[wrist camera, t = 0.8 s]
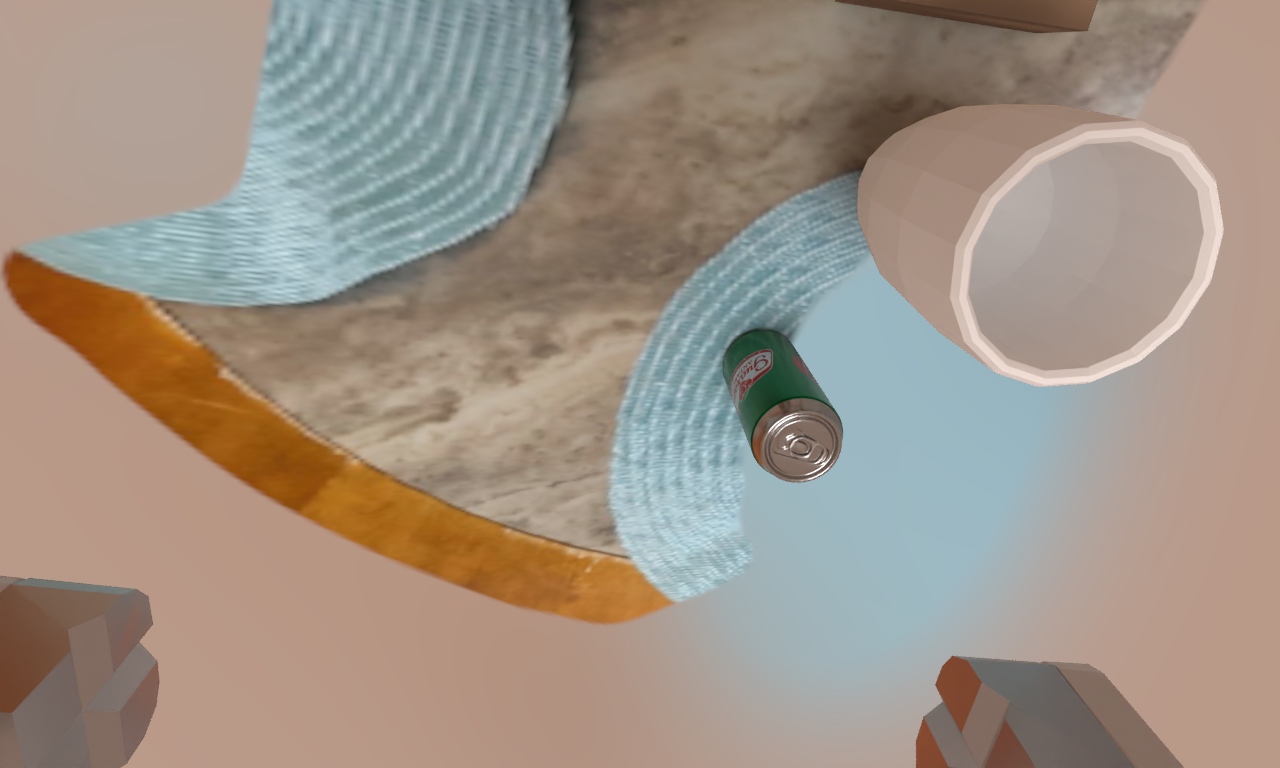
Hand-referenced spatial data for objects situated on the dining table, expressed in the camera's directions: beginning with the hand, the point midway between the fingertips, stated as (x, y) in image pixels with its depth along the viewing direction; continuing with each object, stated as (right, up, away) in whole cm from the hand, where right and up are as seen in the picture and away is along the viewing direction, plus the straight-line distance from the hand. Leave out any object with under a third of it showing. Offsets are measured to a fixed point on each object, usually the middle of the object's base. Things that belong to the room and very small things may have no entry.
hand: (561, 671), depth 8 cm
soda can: (+9, +4, +43) cm, 44 cm away
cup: (+16, +16, +39) cm, 45 cm away
